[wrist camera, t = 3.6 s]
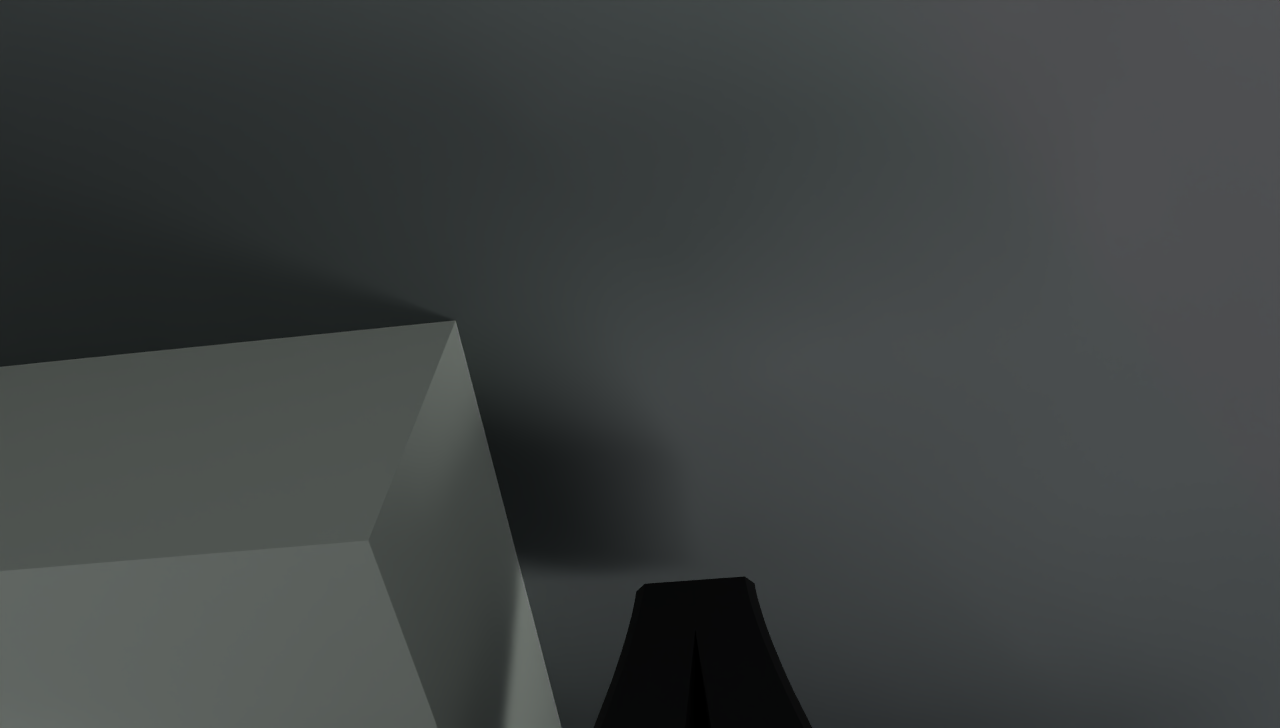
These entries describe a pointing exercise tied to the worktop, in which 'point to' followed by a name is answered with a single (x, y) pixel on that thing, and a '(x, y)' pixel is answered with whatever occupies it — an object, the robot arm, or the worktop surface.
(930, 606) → the worktop surface
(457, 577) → the sage block
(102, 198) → the worktop surface
